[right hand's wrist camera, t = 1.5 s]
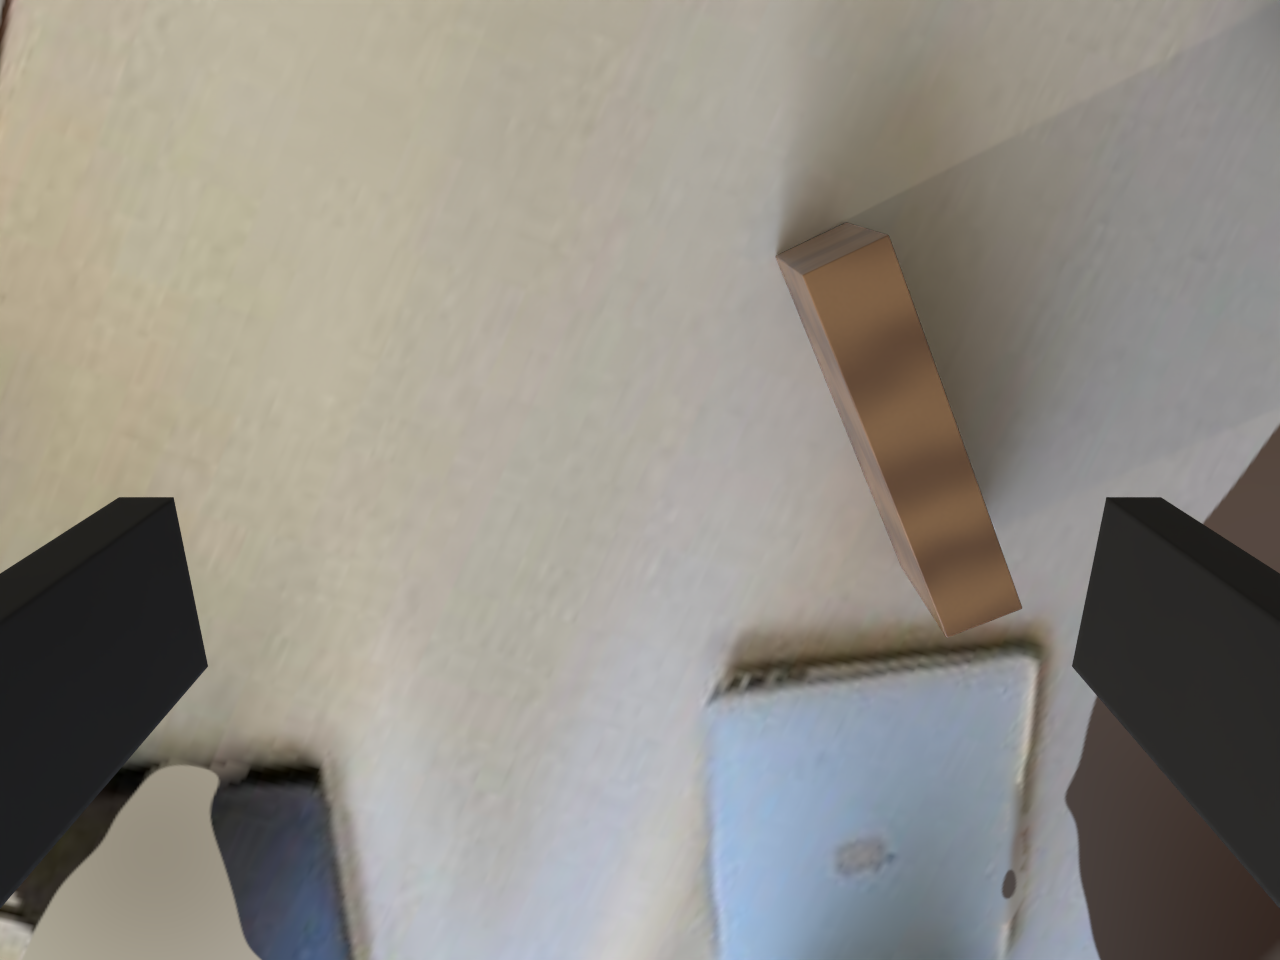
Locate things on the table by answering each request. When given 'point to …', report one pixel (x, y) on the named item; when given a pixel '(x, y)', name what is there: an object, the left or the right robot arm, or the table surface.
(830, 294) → the bar
